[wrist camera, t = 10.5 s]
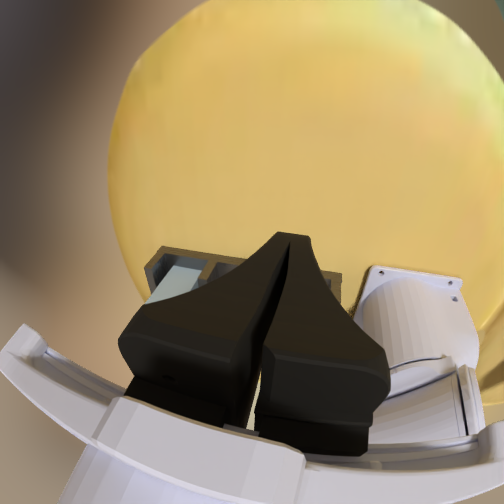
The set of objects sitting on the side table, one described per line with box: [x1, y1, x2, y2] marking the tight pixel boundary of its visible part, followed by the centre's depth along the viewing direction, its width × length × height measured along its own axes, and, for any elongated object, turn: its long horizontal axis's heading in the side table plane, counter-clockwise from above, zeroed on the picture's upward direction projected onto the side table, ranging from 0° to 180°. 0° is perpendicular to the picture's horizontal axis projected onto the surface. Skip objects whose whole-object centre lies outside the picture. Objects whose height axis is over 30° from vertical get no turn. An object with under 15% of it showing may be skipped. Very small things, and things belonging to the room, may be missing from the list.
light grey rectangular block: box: [145, 266, 202, 304], centre depth 24 cm, size 3×7×6 cm, turn 179°
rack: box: [144, 246, 342, 303], centre depth 25 cm, size 17×10×4 cm, turn 89°
